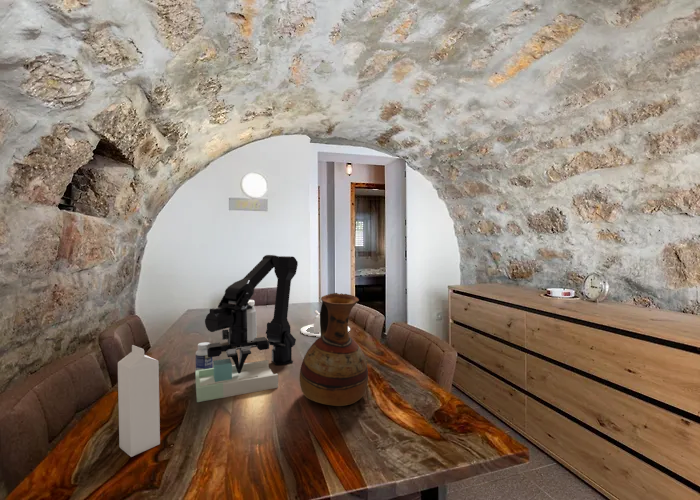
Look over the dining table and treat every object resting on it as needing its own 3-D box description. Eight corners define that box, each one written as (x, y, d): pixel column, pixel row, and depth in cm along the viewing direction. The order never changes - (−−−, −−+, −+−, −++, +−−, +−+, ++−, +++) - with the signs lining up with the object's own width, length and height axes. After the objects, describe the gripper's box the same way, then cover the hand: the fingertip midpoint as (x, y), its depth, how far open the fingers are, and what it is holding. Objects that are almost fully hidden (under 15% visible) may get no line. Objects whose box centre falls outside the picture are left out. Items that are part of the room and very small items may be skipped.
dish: (294, 337, 167) (293, 313, 167) (308, 324, 191) (308, 304, 191) (345, 339, 163) (344, 314, 162) (353, 326, 187) (353, 305, 187)
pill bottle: (206, 375, 119) (206, 346, 119) (192, 373, 120) (191, 345, 120) (215, 369, 124) (215, 341, 124) (202, 368, 125) (201, 341, 125)
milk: (147, 435, 82) (146, 341, 81) (160, 444, 78) (159, 345, 78) (118, 448, 77) (117, 347, 77) (130, 458, 73) (128, 352, 73)
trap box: (267, 371, 122) (267, 359, 122) (278, 387, 108) (278, 374, 108) (195, 382, 112) (195, 370, 112) (196, 402, 99) (196, 388, 98)
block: (230, 373, 115) (229, 358, 114) (232, 379, 110) (231, 363, 110) (213, 376, 112) (213, 360, 112) (215, 381, 108) (214, 365, 108)
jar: (247, 336, 168) (247, 298, 167) (261, 339, 162) (260, 300, 162) (229, 340, 160) (229, 301, 159) (243, 344, 154) (242, 303, 154)
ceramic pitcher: (315, 420, 88) (314, 301, 87) (290, 390, 106) (289, 291, 105) (381, 403, 97) (381, 295, 96) (348, 378, 115) (347, 287, 114)
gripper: (262, 317, 124) (263, 360, 125) (205, 322, 116) (206, 369, 117) (269, 323, 114) (270, 371, 115) (207, 330, 106) (208, 381, 107)
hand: (238, 373), depth 113 cm, fingers closed
